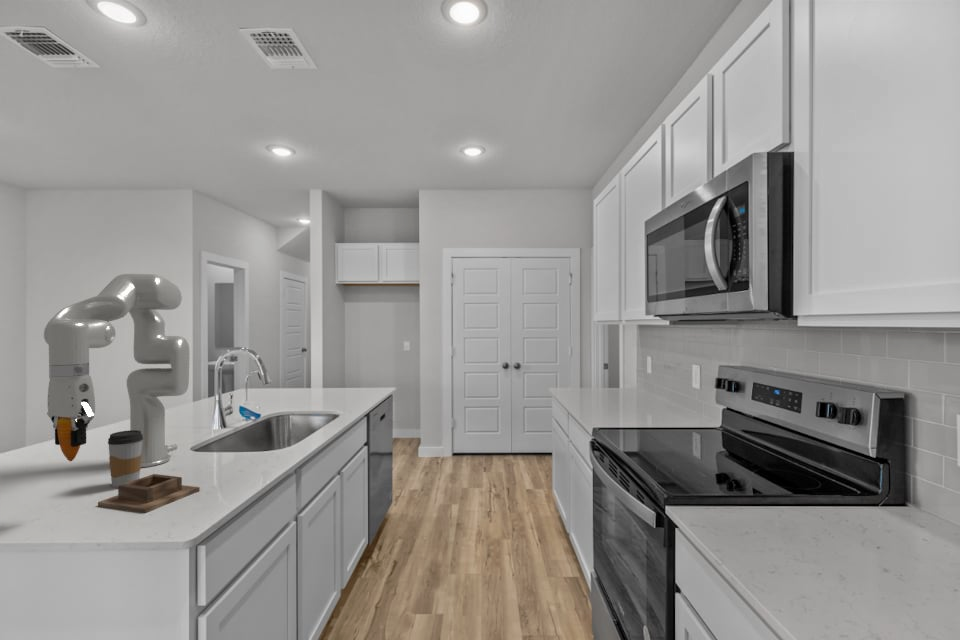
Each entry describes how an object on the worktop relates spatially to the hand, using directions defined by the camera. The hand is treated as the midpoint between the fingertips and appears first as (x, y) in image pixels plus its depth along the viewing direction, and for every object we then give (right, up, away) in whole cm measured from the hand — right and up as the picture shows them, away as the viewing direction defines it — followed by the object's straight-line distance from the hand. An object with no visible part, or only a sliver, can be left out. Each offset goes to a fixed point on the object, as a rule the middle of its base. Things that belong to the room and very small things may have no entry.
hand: (70, 443), depth 118 cm
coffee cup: (-2, -18, +21) cm, 27 cm away
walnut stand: (+13, -17, +10) cm, 24 cm away
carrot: (0, -5, 0) cm, 5 cm away
